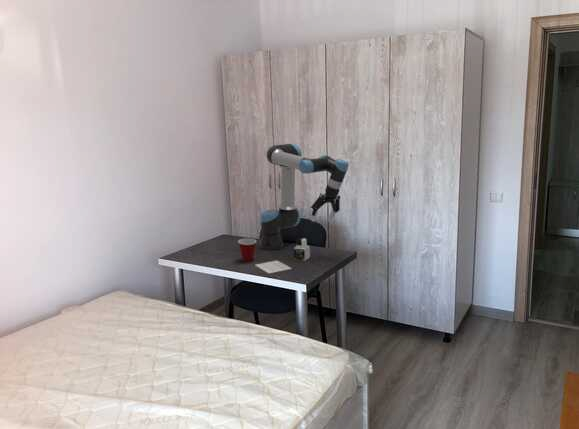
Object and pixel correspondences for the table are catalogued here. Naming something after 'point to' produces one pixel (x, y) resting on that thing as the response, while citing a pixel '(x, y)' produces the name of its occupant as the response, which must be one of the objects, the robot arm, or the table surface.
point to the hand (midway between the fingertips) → (321, 221)
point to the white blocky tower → (301, 250)
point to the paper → (273, 266)
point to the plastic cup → (247, 249)
